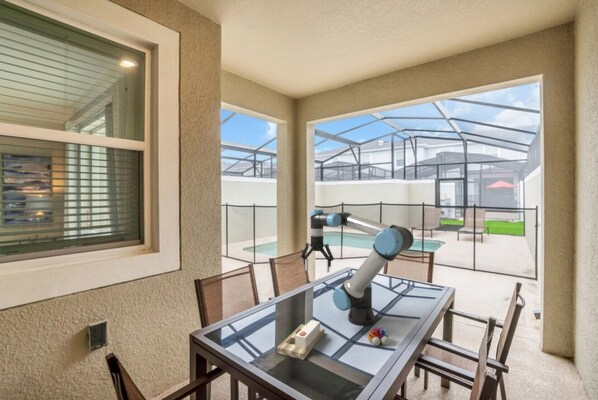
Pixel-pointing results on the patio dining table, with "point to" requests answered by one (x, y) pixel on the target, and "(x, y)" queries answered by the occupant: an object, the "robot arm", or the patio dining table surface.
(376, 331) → the rainbow stacked discs
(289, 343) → the square hole board
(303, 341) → the power strip
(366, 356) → the patio dining table surface
